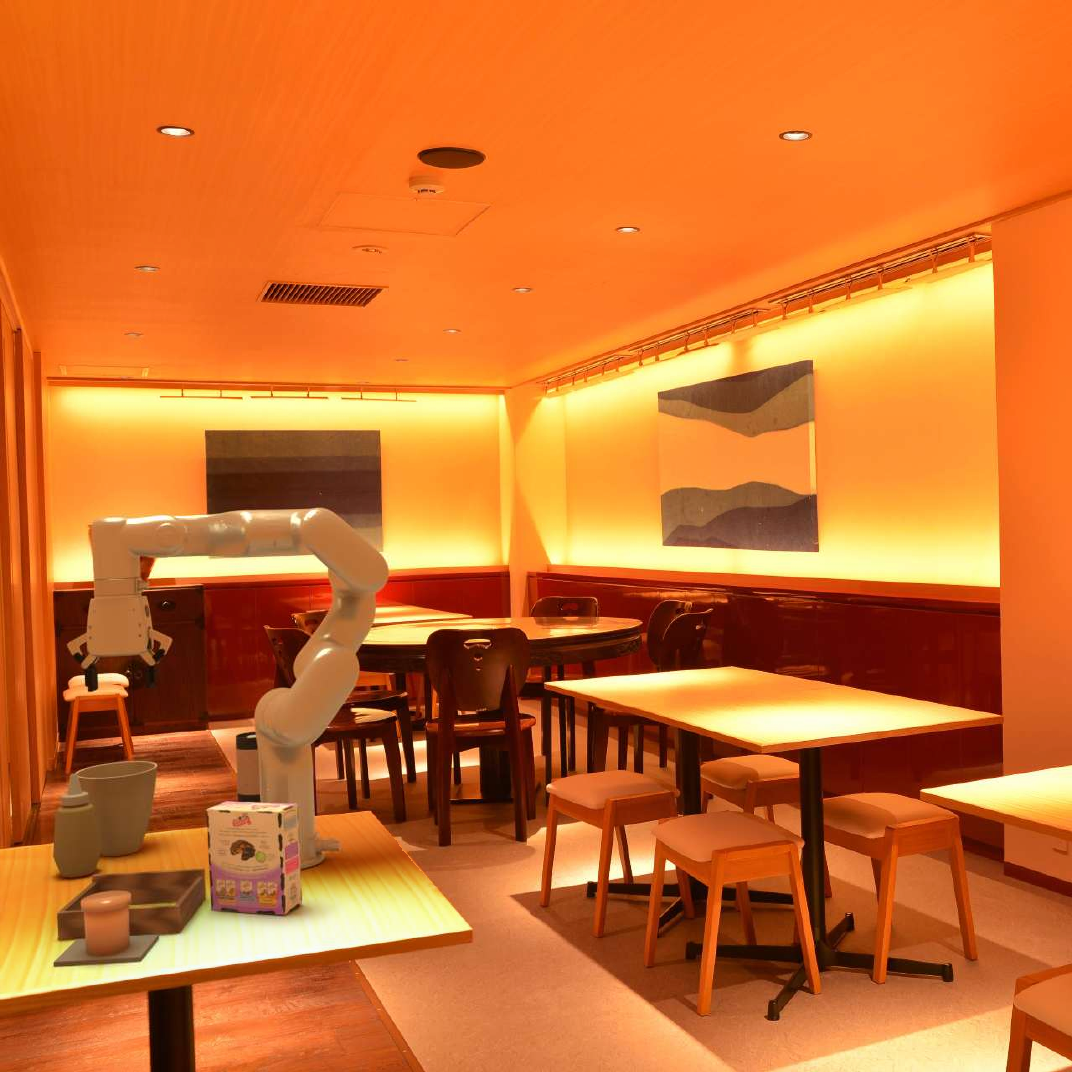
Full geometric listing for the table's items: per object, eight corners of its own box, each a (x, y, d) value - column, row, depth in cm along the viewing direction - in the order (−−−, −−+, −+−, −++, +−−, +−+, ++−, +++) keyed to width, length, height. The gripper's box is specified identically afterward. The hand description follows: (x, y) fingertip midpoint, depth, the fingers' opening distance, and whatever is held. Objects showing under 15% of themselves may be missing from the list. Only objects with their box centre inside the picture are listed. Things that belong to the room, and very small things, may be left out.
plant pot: (78, 847, 221) (75, 766, 221) (158, 837, 226) (154, 758, 226) (78, 867, 207) (74, 780, 207) (163, 855, 213) (159, 771, 213)
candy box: (304, 904, 180) (299, 802, 180) (284, 917, 174) (279, 811, 174) (230, 899, 184) (226, 799, 184) (209, 911, 179) (204, 807, 179)
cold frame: (205, 898, 185) (204, 868, 185) (179, 932, 169) (178, 899, 169) (95, 905, 184) (93, 874, 184) (58, 939, 168) (56, 906, 168)
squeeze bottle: (110, 866, 206) (105, 769, 206) (88, 880, 198) (84, 778, 198) (68, 867, 207) (64, 770, 207) (44, 880, 199) (40, 779, 199)
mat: (158, 938, 167) (158, 934, 167) (140, 961, 158) (140, 957, 158) (76, 943, 166) (76, 939, 166) (53, 966, 157) (53, 962, 157)
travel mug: (242, 829, 229) (238, 732, 229) (280, 827, 230) (276, 730, 230) (236, 839, 222) (231, 738, 222) (275, 837, 222) (271, 736, 222)
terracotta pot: (139, 938, 166) (137, 889, 166) (124, 955, 159) (122, 904, 159) (92, 940, 165) (90, 891, 165) (75, 957, 159) (73, 906, 159)
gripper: (175, 586, 195) (179, 684, 195) (74, 590, 195) (78, 689, 195) (162, 588, 188) (166, 690, 188) (57, 592, 187) (61, 695, 187)
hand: (121, 689), depth 191 cm, fingers open, 9 cm apart
